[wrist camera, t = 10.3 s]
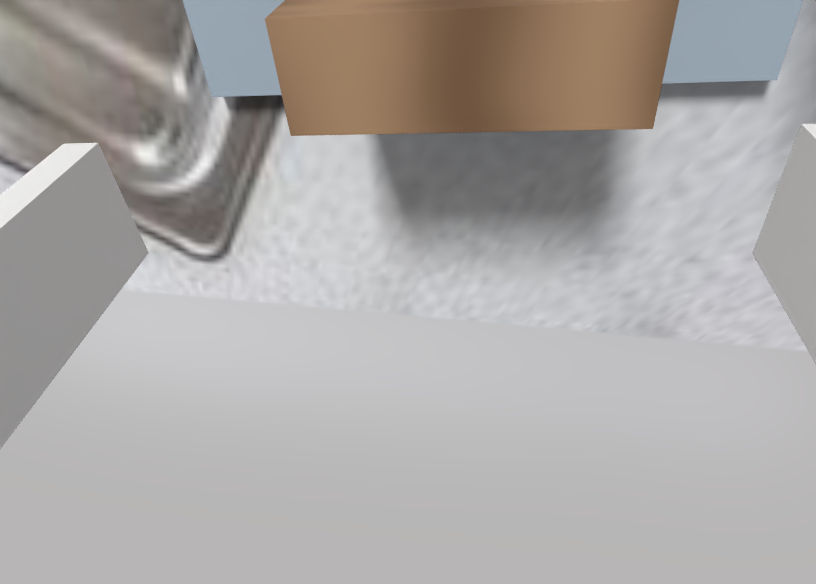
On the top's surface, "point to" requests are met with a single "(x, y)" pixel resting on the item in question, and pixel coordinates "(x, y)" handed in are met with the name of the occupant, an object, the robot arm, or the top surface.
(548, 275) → the top surface
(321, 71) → the walnut frame
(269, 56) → the picture ledge
